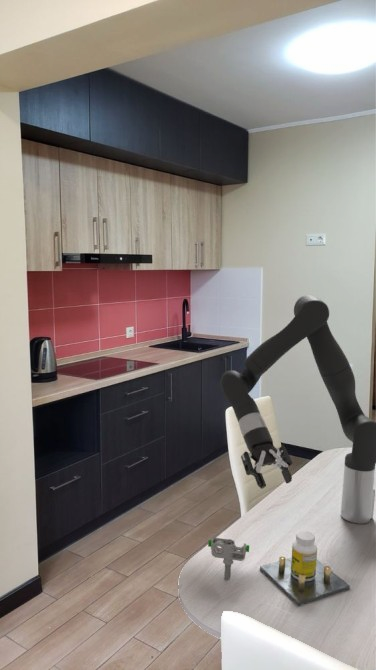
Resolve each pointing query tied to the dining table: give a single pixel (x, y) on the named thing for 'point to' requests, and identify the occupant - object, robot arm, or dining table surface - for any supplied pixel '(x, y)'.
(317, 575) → the plate
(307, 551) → the pill bottle
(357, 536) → the dining table surface
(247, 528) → the dining table surface
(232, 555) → the mechanical component
